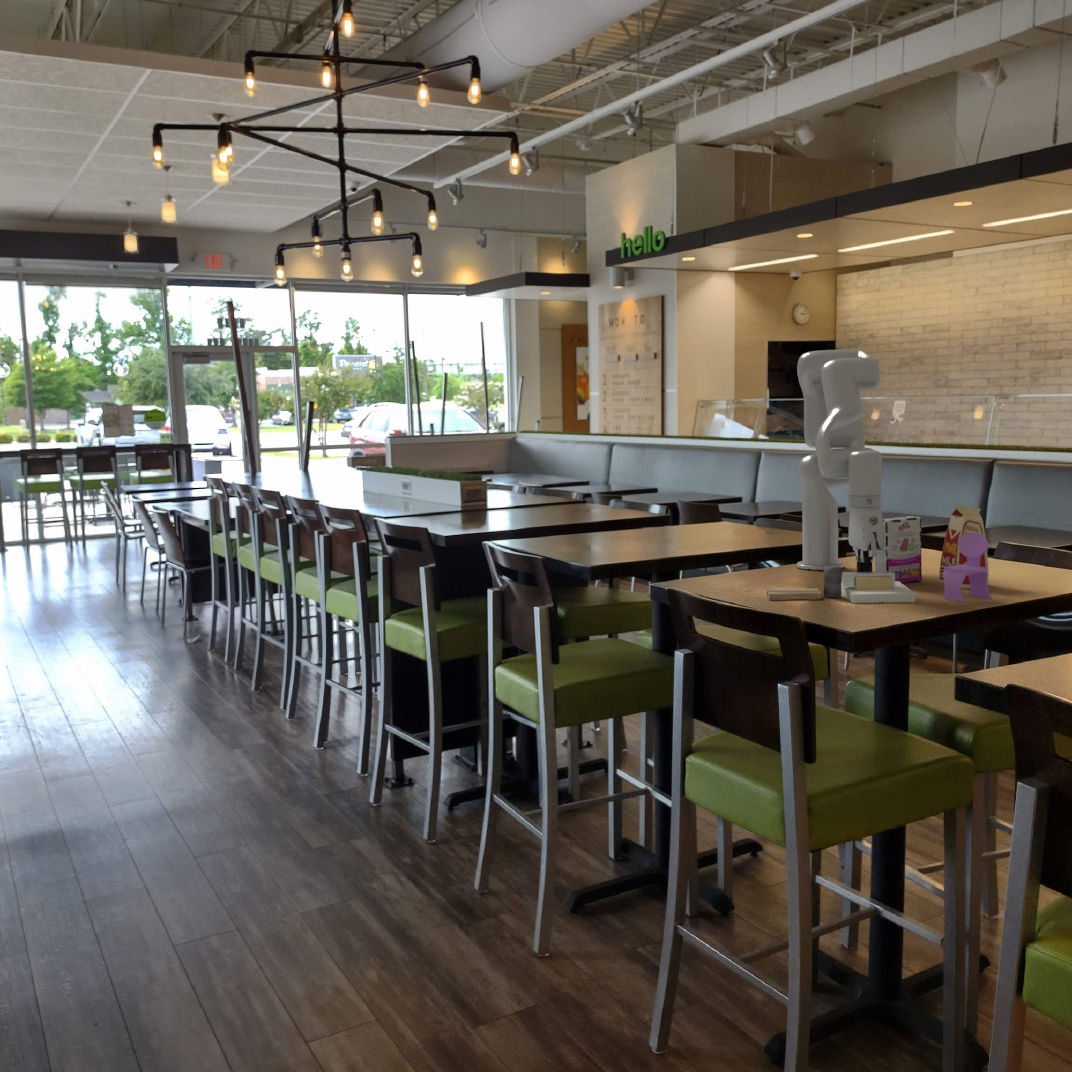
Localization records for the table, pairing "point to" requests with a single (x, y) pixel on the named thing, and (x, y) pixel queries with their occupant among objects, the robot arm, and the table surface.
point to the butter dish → (877, 591)
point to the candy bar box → (901, 549)
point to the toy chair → (968, 569)
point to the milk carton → (959, 526)
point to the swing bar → (850, 577)
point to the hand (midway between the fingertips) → (864, 577)
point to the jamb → (830, 589)
